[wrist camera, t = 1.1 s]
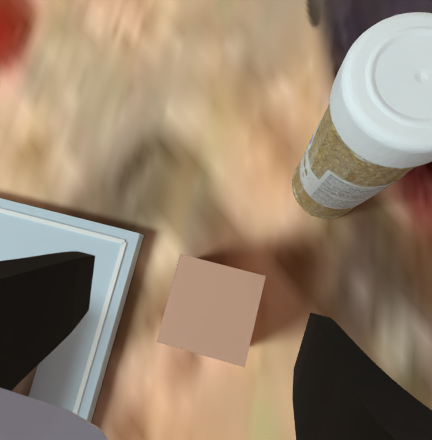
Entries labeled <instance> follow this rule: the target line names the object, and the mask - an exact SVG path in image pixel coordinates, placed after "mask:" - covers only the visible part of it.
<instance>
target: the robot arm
mask: <svg viewBox="0 0 432 440" xmlns="http://www.w3.org/2000/svg"><path fill="white" fill-rule="evenodd" d="M94 262H95V256H94V255H91V254H87V253H83V252H79V251H69V252H59V253H52V254H45V255H39V256H32V257H26V258H19V259H11V260H4V261H0V440H108V439H107V437H106V436H105V435H104V433H103V432H102V430H101V429H100V428H99V427H97V426H95V425H94V424H92V423H90V422H88V421H87V420H85V419H83V418H81V417H80V416H78V415H76V414H75V413H73V412H71V411H69V410H68V409H64V408H61V407H58V406H55V405H52V404H49V403H46V402H43V401H40V400H37V399H34V398H31V397H28V396H24V395H21V394H18V393H15V392H12V390H13V389H14V388H15V387H16V386H17V385H18V384H19V383H20V382H21V381H22V380H23V379H24V378H25V377H26V376H27V375H28V374H29V373H30V372H31V371H32V370H33V369H34V368H35V367H36V366H37V365H38V364H39V363H41V362H42V361H43V360H44V359H45V358H46V357H47V356H48V355H49V354H50V353H51V352H52V351H53V350H54V349H55V348H56V347H57V346H58V345H59V344H60V343H61V342H62V341H63V340H65V339H66V338H67V337H68V336H69V335H70V334H71V333H72V331H73V330H74V329H75V328H76V326H77V325H78V324H79V323H80V321H81V320H82V319H83V317H84V316H85V315H86V313H87V312H88V311H89V304H90V296H91V288H92V279H93V271H94ZM293 409H294V420H295V431H296V440H432V410H430V409H429V408H428V407H426V406H425V405H423V404H422V403H421V402H420V401H418V400H417V399H416V398H415V397H413V396H412V395H411V394H409V393H408V392H407V391H406V390H404V389H403V388H402V387H401V386H399V385H398V384H397V383H396V382H395V381H394V380H392V379H391V378H390V377H389V376H388V375H387V374H386V373H385V372H384V371H383V370H382V369H381V368H379V367H378V366H377V365H376V364H375V363H374V362H373V361H372V360H371V359H370V358H369V357H368V356H367V355H366V354H365V353H364V352H363V351H362V350H361V349H360V348H359V347H358V346H357V345H356V344H355V342H354V341H353V340H352V339H351V338H350V337H349V336H348V335H347V334H346V333H345V332H344V331H343V330H342V329H341V327H340V326H339V325H338V324H337V323H336V322H335V321H334V320H332V319H331V318H329V317H325V316H321V315H317V314H314V313H310V316H309V320H308V323H307V326H306V330H305V333H304V336H303V340H302V343H301V347H300V350H299V353H298V357H297V360H296V363H295V367H294V376H293Z"/></svg>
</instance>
